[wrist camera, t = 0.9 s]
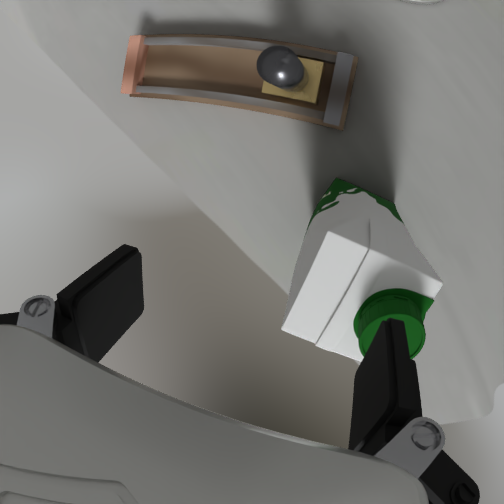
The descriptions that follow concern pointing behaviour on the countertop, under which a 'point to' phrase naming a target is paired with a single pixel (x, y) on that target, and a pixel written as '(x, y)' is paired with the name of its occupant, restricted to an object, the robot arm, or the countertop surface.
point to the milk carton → (358, 275)
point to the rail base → (232, 75)
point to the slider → (290, 74)
